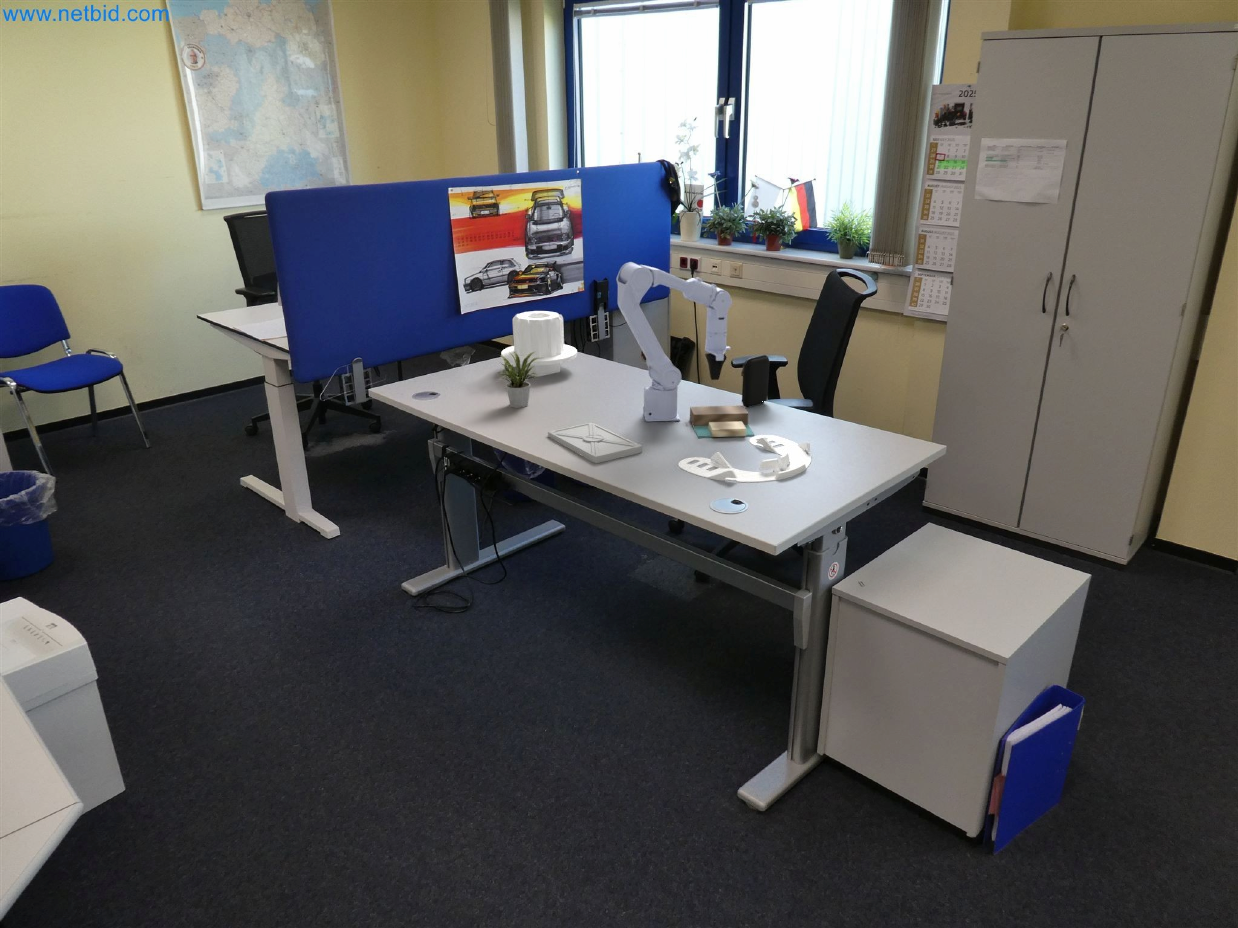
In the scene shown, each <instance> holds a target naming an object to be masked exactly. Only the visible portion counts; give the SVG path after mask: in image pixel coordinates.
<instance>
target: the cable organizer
mask: <svg viewBox="0 0 1238 928" xmlns="http://www.w3.org/2000/svg"><path fill="white" fill-rule="evenodd" d="M748 441H749V443H750V444H751V445H753V446H754V447H757V446H758V447H761V448H763V450H766V451H768V452H772V453H775V454H776V455H780V456H779V458H777V457H775V458H770V459H763V460H762V461H761V463H760V465H759V468H758V470H759V471H769V470H770V471H771V470H772V472H759V471H749V470H748V471H747V470H741V469H738V468H734V467H733V466H732V465H731V464H730V463H729V462H728V461H727V460H726V459H725V457H724V456H723V455H722V454H721V452H719V451H717V452H715V453H714V454H713V455H712V456H711V457H710V458H707V457H695V456H694V457H687V458H684V459H682V460H680V461H679V462H678V467H679V468H680V469H681V470H682V471H685V472H686V473H687V472H688V473H689V474H692V475H696V476H698V477H703V478H706V479H710V480H711V479H712V480H715V481H716V480H717V481H722V482H725V481H734V482H736V483H763V482H764V483H766V482H774V481H779V480H784V479H787V478H791V477H794V476H797V475H799V474H800V473H802V472H804V471H805V470H806V469H808V468H809V467H810V465H811V462H812V456H811V454H810V453H811V445H810V443H811V442H809V441H808V442H803V443H801V444H798V442H795V441H793V440H790V439H787V438H784V437H782V436H778V435H771V434H759V435H754V436H751V437H750V438H749V440H748ZM771 442H773V443H771ZM777 446H780V447H777ZM808 453H809V454H808ZM713 460H715V461H717V462H715V461H713ZM695 461H696V462H695ZM692 462H695V463H693V464H691V463H692ZM704 464H706V465H705V466H703V467H699V466H701V465H704ZM788 464H789V465H788ZM714 467H715V468H716V469H713V470H711V471H710V470H709V469H712V468H714Z"/></svg>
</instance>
